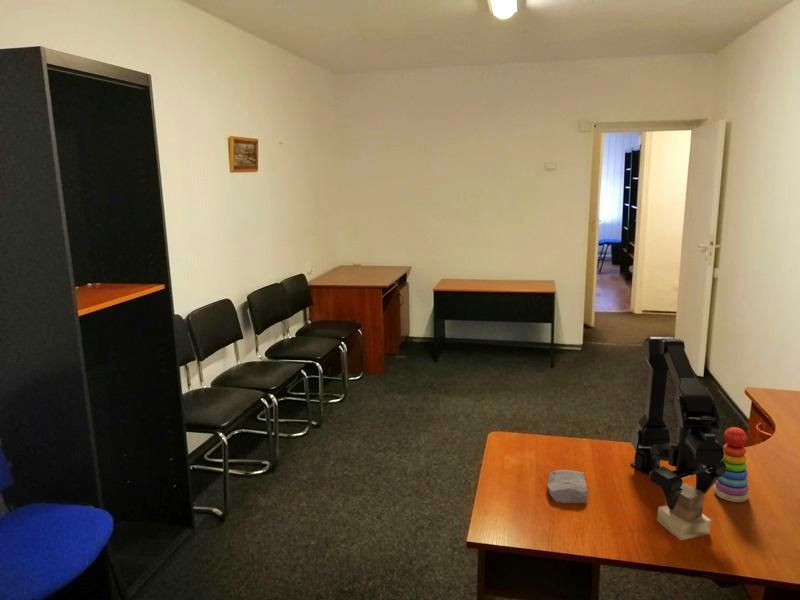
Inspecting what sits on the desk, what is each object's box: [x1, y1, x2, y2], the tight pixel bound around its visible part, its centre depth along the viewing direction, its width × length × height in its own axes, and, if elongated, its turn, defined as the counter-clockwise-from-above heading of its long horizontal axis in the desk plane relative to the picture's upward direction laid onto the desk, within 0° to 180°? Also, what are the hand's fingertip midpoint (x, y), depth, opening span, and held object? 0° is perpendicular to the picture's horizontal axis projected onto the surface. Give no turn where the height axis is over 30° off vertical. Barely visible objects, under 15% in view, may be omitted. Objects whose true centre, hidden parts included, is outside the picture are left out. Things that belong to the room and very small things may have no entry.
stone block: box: [547, 469, 588, 504], centre depth 156 cm, size 12×5×10 cm
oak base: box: [656, 505, 712, 541], centre depth 139 cm, size 8×8×4 cm
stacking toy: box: [713, 426, 750, 503], centre depth 149 cm, size 8×8×19 cm
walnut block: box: [669, 482, 705, 522], centre depth 138 cm, size 5×5×6 cm
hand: (684, 503), depth 138 cm, fingers open, 9 cm apart
